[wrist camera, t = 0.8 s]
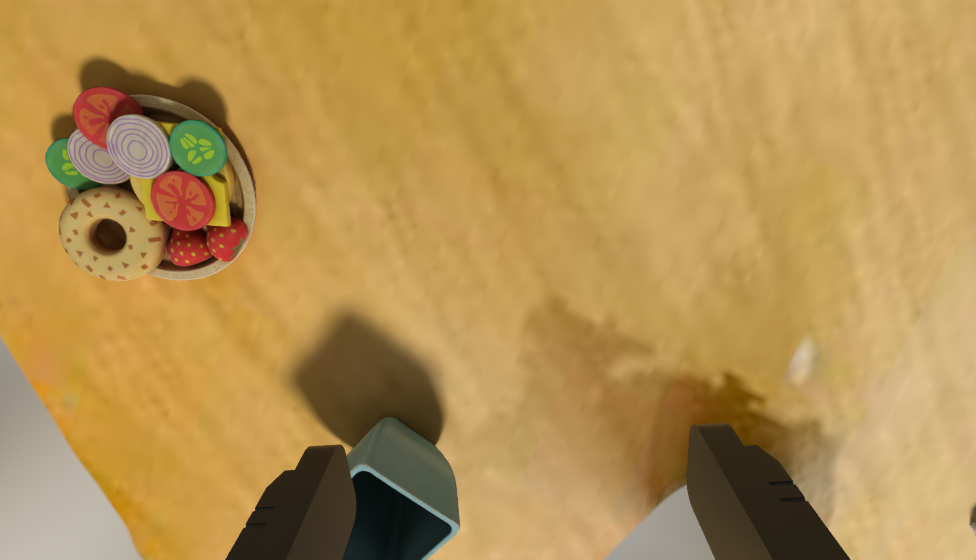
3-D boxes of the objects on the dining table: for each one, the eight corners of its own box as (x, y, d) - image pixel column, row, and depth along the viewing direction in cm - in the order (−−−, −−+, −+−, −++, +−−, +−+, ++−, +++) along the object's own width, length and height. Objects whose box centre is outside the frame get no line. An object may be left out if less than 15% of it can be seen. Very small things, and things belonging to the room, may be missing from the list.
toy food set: (92, 267, 38) (58, 282, 35) (54, 81, 34) (10, 80, 31) (269, 280, 39) (250, 297, 36) (254, 97, 34) (230, 97, 31)
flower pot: (469, 444, 43) (463, 529, 35) (407, 504, 46) (387, 597, 37) (387, 386, 42) (360, 461, 33) (326, 452, 44) (287, 538, 36)
